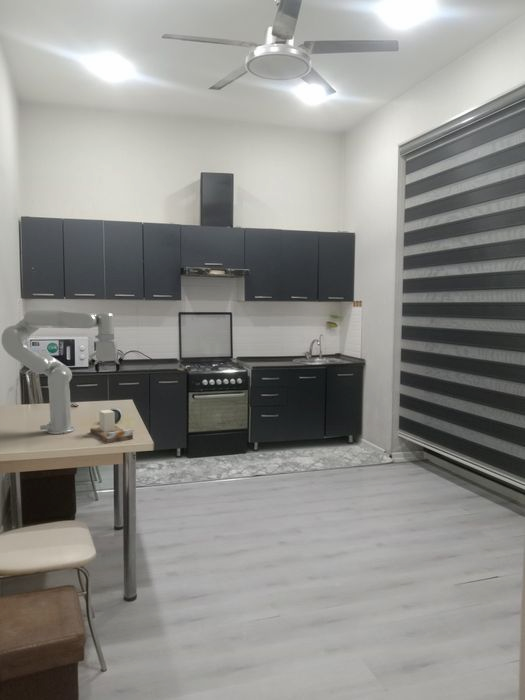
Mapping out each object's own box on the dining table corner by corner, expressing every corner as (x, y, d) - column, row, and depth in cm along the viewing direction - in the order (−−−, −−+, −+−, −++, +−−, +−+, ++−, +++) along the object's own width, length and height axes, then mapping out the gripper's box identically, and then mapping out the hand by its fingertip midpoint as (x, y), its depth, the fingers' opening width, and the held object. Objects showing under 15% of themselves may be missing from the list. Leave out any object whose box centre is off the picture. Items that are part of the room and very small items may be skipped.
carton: (104, 431, 244) (104, 413, 244) (99, 428, 250) (99, 410, 249) (115, 430, 247) (114, 411, 247) (109, 427, 253) (109, 409, 252)
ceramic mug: (122, 419, 279) (121, 405, 278) (121, 423, 271) (121, 408, 270) (102, 421, 277) (101, 407, 276) (100, 424, 269) (100, 410, 268)
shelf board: (107, 443, 231) (107, 433, 231) (90, 432, 251) (90, 423, 250) (133, 439, 239) (132, 429, 238) (114, 429, 258) (114, 420, 258)
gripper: (86, 338, 249) (88, 373, 251) (122, 337, 251) (123, 372, 252) (90, 337, 257) (91, 371, 258) (125, 337, 258) (126, 370, 260)
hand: (107, 371), depth 255 cm, fingers open, 9 cm apart
